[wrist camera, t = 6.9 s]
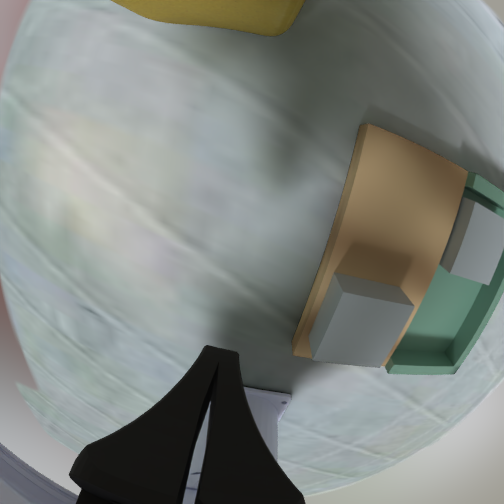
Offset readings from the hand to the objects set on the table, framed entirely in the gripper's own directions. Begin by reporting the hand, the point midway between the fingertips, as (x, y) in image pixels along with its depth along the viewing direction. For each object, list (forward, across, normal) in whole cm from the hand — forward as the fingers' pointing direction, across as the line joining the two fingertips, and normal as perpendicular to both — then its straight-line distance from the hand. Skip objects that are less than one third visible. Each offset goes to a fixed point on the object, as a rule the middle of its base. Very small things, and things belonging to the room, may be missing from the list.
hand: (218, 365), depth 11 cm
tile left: (+7, -8, 0) cm, 10 cm away
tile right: (+8, -16, -7) cm, 19 cm away
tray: (+8, -17, -3) cm, 20 cm away
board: (+8, -9, -3) cm, 13 cm away
